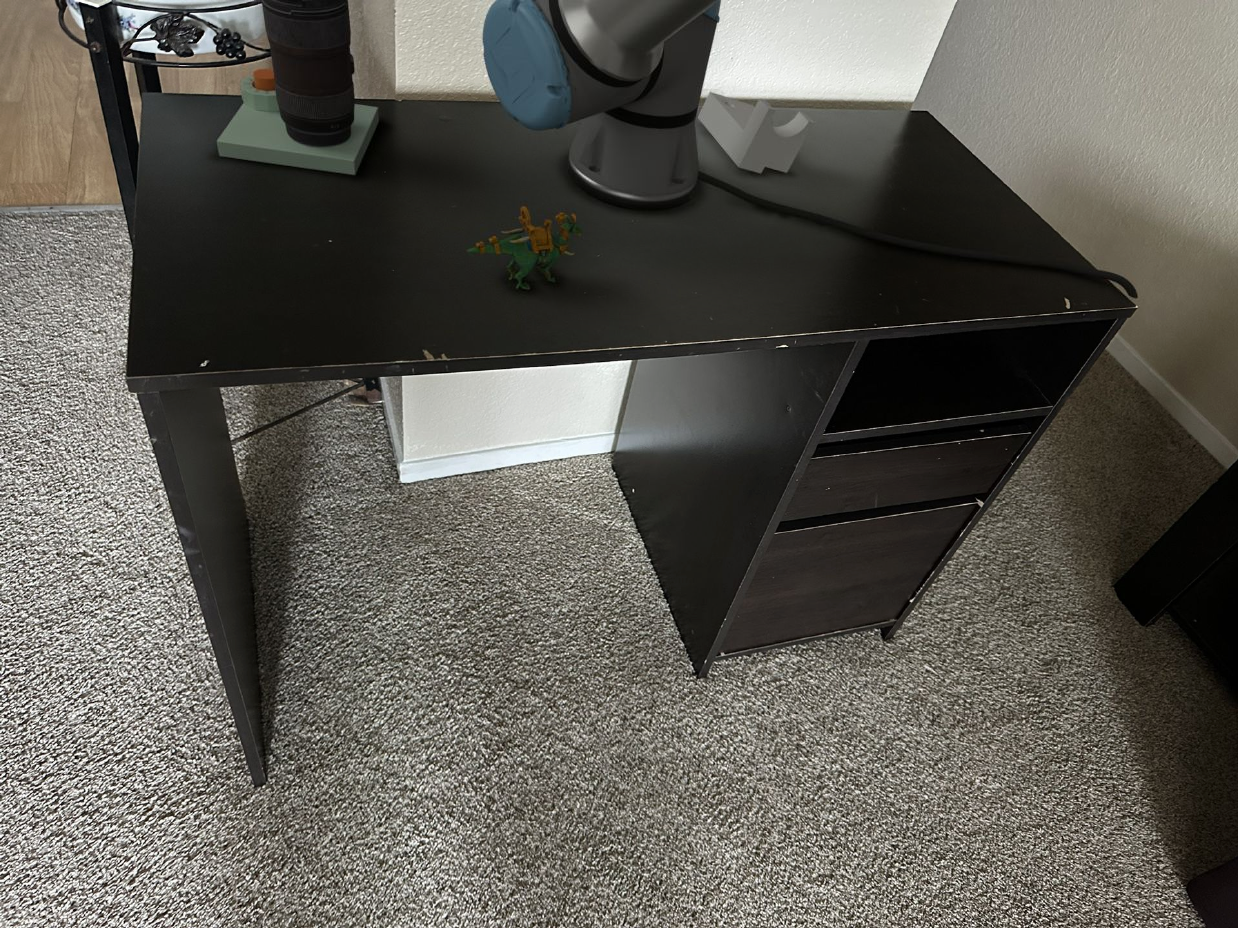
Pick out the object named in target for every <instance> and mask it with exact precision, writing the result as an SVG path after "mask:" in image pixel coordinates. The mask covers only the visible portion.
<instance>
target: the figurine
mask: <svg viewBox="0 0 1238 928" xmlns="http://www.w3.org/2000/svg"><path fill="white" fill-rule="evenodd" d="M519 210H520V216H518V220H519V223H520V224H522V227H521V228H517V229H512V230H508V231H502V230H500V232H501V233H503V234H504V235H511V236H509V237H507V238H504V239H502V240H498V238H497V237H496V235H494V236H492V237H490V238H488V241H489V243H488V244H485V243H484V242H483V241H479V242H476V243H475V245H476V246H475V247H471V248H468V249H467V250H466V252H467V253H468V254H469V253H470V254H479V255H483V254H494V255H501V254H504V255H508V256H509V257H510V258H511V261H510V263H509V265H508V266H507V269H508V272H509V273H510V277H509V278H508V280H509V281H512V280H513V279H514V280H516V281H517V282H518V284H517V285H516V287H515V288H516V289H519V288H522V289H523V290H531V287H530V284H527V283H528V282H523V279H524V278H525V277H526V276H528V275H529V274H531V272H532V271H533V269H534V267H537V268H538V270H540V272H541V273H542V274H544V276H545V278H547V281H548V282H552V283H556V278H555V277H551V276H552V275H551V272H550V269H551V268H552V267H553V266H554V265H555V264H556V262H557V260H558V259H559V258H560V255H564V256H566V257H567V256H568V257H570V256H573V255H574V254H575V252H573V253H572V252H569V251H567V249H568V248H569V240H570V234H577V236H579V237H580V236H582V229H581V227H580V225H579V222H578V221H577V216H576V215H575V214H574V213H571V214H570V216H568V214H565V213H564V212H559V214H557V215H555V220H556V221H557V224H558V225H560V226H559V228H558V231H557V232H556V235H553V234H552V233H551V231H550V230H551V227H552V223H553V221H552V220H550V219H544V222H543V224H544V225H543V226H533V224H532V222H531V215H530V211H529V210H528V208H527V207H526V206H524V205H522V206H521V207H520V209H519ZM563 221H567V222H565V223H563ZM516 266H519V267H520V270H519V271H518V272H517V271H516V269H515V267H516ZM544 266H545V267H544Z"/></svg>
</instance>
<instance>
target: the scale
mask: <svg viewBox="0 0 1238 928" xmlns="http://www.w3.org/2000/svg"><path fill="white" fill-rule="evenodd" d="M239 88H240V94H241V100H242V102H243V103H242V105H241V106H240V107H239V109H238V110H237V112H236V113H235V114H234V115H233V118H231V120H230V122H229V123H228V124H227V125H226V127H225V129H224V130H223V131H222V133H221V134H220V136H219V137H218V138H217V140H216V145H217V151H218V156H219V157H223V158H230V159H237V160H244V161H245V160H246V161H252V162H257V163H258V162H260V163H266V164H272V165H273V164H274V165H279V166H281V165H282V166H288V167H295V168H301V169H308V170H317V171H321V172H330V173H338V174H343V175H351V176H356V174H357V173H358V170H359V168H360V165H361V163H362V160H363V159H364V156H365V154H366V151H367V149H368V147H369V145H370V142H371V140H372V137H373V135H374V133H375V131H376V128H377V127H378V124H379V122H380V113H379V107H378V106H371V105H364V104H358V103H355V108H354V122H353V124H352V125H351V136H350V138H349V139H348V140H347V141H346V142H344V143H342V144H339V145H335V146H329V147H315V146H309V145H304V144H302V143H299V142H296V141H295V140H293V139H292V138H291V137H290V136H289V135H288V134H287V131H286V126H285V122H284V121H283V120H282V118H281V116H280V111H279V107H278V103H277V100H276V92H275V91H263V90H258V89H256V88H255V83H254V77H253V74H252V75H248V76H245V77H243V78H242V80H241V81H240V82H239Z"/></svg>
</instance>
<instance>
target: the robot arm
mask: <svg viewBox="0 0 1238 928" xmlns="http://www.w3.org/2000/svg"><path fill="white" fill-rule="evenodd" d="M721 4H722V0H495V1H494V2H493V3H492V4H491V5H490V7H489V9H488V10H487V13H486V15H485V19H484V22H483V28H482V37H481V38H482V47H483V54H482V55H483V61H484V65H485V70H486V73H487V76H488V80H489V82H490V85H491V87H492V89H493V91H494V94H495V96H496V97H497V99H498V101H499V103H500V104H501V106H502V107H503V108H504V110H505V112H507V114H508V115H509V116H510V117H511V118H512V119H513V120H514V121H516V122H519V123H520V124H521V126H523V127H524V128H525V129H529V130H533V131H538V132H540V131H547V130H553V129H555V130H559V129H563V128H564V127H566V125H570V124H573V123H574V122H578V121H581V120H582V122H581V124H580V125H579V128H578V130H577V132H576V135H575V137H574V139H573V141H572V142H571V146H570V148H569V150H568V158H567V159H568V161H567V172H568V174H569V176H570V178H571V180H572V181H573V182H574V183H575V184H576V185H577V186H578V187H579V188H580V189H582V191H584V192H585V193H587V194H588V195H591V196H593V197H594V198H596V199H599V200H601V201H604V202H606V203H609V204H612V205H615V206H619V207H623V208H629V209H635V210H648V211H650V210H651V211H653V210H665V209H670V208H674V207H678V206H681V205H683V204H684V203H686V202H688V201H690V199H691V198H692V197H694V196H695V193H696V190H697V187H698V183H699V181H701V182H704V183H706V184H708V185H711V186H713V187H715V188H718V189H720V190H722V191H724V192H726V193H729V194H731V195H733V196H735V197H737V198H738V199H740V200H743V201H744V202H745V201H746V202H747V203H750V204H752V205H756V206H758V207H761V208H764V209H767V210H771V211H774V212H777V213H779V214H780V213H781V214H785V215H788V216H792V217H796V218H800V219H804V220H808V221H811V222H815V223H819V224H822V225H825V226H829V227H832V228H835V229H838V230H841V231H844V232H848V233H851V234H854V235H857V236H861V237H864V238H867V239H869V240H874V241H878V242H882V243H886V244H891V245H895V246H899V247H903V248H908V249H913V250H919V251H923V252H928V253H936V254H940V255H947V256H953V257H959V258H967V259H974V260H975V259H976V260H982V261H983V260H984V261H991V262H999V263H1000V262H1001V263H1009V264H1015V265H1022V266H1031V267H1039V268H1041V267H1042V268H1047V269H1054V270H1055V269H1056V270H1060V271H1065V272H1069V273H1074V274H1078V275H1082V276H1086V277H1091V278H1092V277H1093V278H1096V279H1097V278H1099V279H1102V280H1107V281H1110V282H1113V283H1116V284H1118V285H1119V286H1121V287H1122V288H1123V289H1124V290H1125V293H1126V294H1127V295H1128V297H1130V298H1132V299H1138V298H1139V297H1138V296H1139V295H1138V292H1137V290H1136V288H1135V286H1134V285H1133V284H1132V282H1130V280H1128V279H1127V278H1126V277H1124V276H1123V275H1121V274H1117V273H1114V272H1111V271H1107V270H1101V269H1096V268H1090V267H1085V266H1081V265H1077V264H1074V263H1069V262H1065V261H1060V260H1059V261H1058V260H1053V259H1045V258H1037V257H1030V256H1029V257H1028V256H1020V255H1013V254H1006V253H1000V252H999V253H997V252H989V251H982V250H981V251H980V250H973V249H965V248H960V247H959V248H958V247H953V246H945V245H940V244H933V243H928V242H923V241H917V240H913V239H907V238H903V237H900V236H899V237H898V236H894V235H890V234H887V233H886V234H885V233H882V232H879V231H875V230H871V229H868V228H864V227H861V226H858V225H854V224H852V223H848V222H845V221H841V220H839V219H836V218H832V217H829V216H825V215H822V214H819V213H815V212H811V211H809V210H808V211H807V210H804V209H800V208H796V207H792V206H788V205H784V204H780V203H777V202H773V201H770V200H767V199H765V198H764V199H763V198H762V197H758V196H756V195H753V194H751V193H748V192H747V191H745V190H742V189H740V188H738V187H736V186H734V185H732V184H730V183H728V182H725V181H723V180H721V179H719V178H717V177H715V176H712V175H710V174H708V173H705V172H703V171H701V170H700V163H699V153H698V141H697V132H696V119H697V114H698V109H699V105H700V101H701V97H702V93H703V88H704V84H705V78H706V74H707V70H708V65H709V61H710V56H711V52H712V48H713V44H714V39H715V35H716V31H717V26H718V24H719V23H720V20H721V19H720V18H721V17H720V9H721Z"/></svg>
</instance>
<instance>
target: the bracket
mask: <svg viewBox="0 0 1238 928" xmlns="http://www.w3.org/2000/svg"><path fill="white" fill-rule="evenodd" d="M775 112H776V109H775V108H774V107H773V106H772V105H771V104H770V103H769V102H768V101H767V100H765V99H763V98H759V99H758V101H757V103H756V104H755V106H754V105H752V104H750V103H746V102H743V101H740V100H737V99H734V98H730V97H728V96H725V95H721V94H718V93H716V92H712V91H709V93H708V94H707V97H706V99H705V101H704V104H703V105H702V108H701V110H700V112H699V114H698V116H697V119H698V120H699V121H700V122H701V124H702V125H703V126H704V127H705V128H706V130H707V131H708V132H709V133H710V135H711V136H712V137H713V138H714V139H715V141H716V142H717V144H719V146H720V147H721V148H722V149H723V151H724V152H725V153H726V154H727V156H729V158H730V159H731V161H732V162H733V163H734V164H735V165H736V166H737V168H740V169H743V170H746V171H751V172H754V173H757V174H762V173H763V172H764V169H765V168H768V169H772V170H776V171H779V172H782V173H786V174H788V172H789V170H790V168H791V166H792V165H793V163H794V161H795V159H796V158H797V156H798V154H799V153H800V150H801V149H802V148H803V145H804V143H805V141H806V140H807V138H808V136H809V135H810V133H811V131H812V129H813V127H814V125H815V122H814V121H813V120H812V119H811V118H810V117H809V116H808V115H807V114H806V113H805V112H802V111H798V112H797V114H796V115H795V117H794V118H792V120H790V121H789V122H788V123H786V124H783V125H781V126H773V118H774V115H775Z"/></svg>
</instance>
